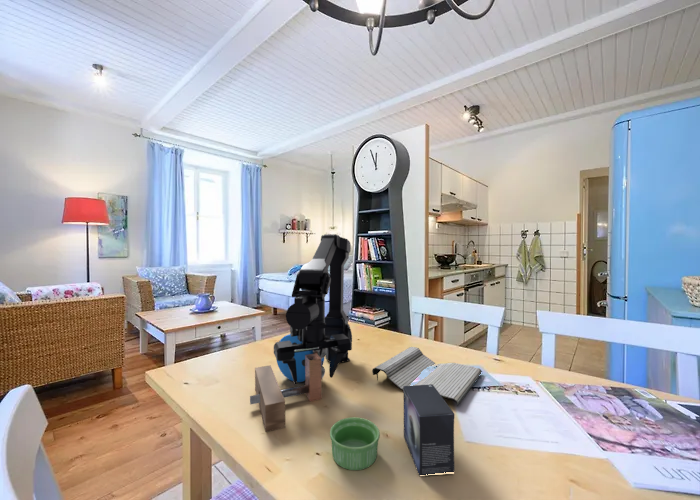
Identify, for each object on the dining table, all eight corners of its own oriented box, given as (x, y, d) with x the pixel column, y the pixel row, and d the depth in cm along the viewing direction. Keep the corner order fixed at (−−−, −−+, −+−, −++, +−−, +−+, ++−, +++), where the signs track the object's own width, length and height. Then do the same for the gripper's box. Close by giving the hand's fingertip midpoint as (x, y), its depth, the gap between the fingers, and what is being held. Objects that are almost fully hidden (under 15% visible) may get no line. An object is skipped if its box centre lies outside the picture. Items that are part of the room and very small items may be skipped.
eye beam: (270, 385, 81) (270, 365, 81) (285, 427, 63) (285, 401, 63) (255, 388, 80) (255, 367, 80) (265, 432, 61) (265, 405, 61)
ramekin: (383, 472, 51) (383, 446, 51) (330, 475, 50) (330, 449, 50) (375, 438, 60) (375, 416, 60) (329, 440, 59) (329, 418, 59)
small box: (401, 436, 60) (401, 384, 60) (433, 435, 61) (433, 383, 60) (417, 478, 49) (417, 414, 49) (456, 475, 50) (456, 412, 50)
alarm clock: (286, 366, 92) (328, 382, 85) (272, 374, 86) (315, 392, 79) (290, 324, 91) (332, 337, 84) (275, 329, 85) (320, 343, 78)
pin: (316, 391, 78) (316, 353, 78) (321, 398, 74) (321, 358, 74) (249, 405, 72) (249, 363, 71) (251, 414, 68) (250, 369, 68)
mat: (458, 412, 70) (458, 391, 69) (371, 383, 84) (371, 366, 83) (483, 376, 88) (483, 360, 88) (408, 358, 102) (408, 344, 102)
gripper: (337, 308, 86) (337, 362, 87) (270, 314, 79) (270, 373, 79) (352, 317, 76) (352, 378, 76) (277, 325, 69) (277, 393, 69)
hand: (313, 380), depth 76 cm, fingers open, 9 cm apart
